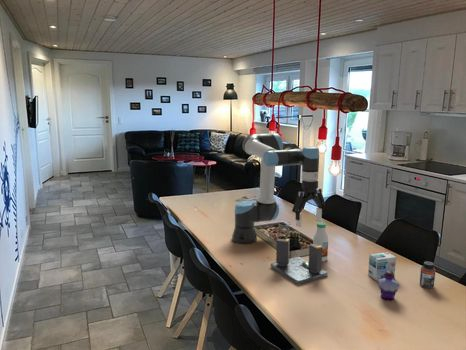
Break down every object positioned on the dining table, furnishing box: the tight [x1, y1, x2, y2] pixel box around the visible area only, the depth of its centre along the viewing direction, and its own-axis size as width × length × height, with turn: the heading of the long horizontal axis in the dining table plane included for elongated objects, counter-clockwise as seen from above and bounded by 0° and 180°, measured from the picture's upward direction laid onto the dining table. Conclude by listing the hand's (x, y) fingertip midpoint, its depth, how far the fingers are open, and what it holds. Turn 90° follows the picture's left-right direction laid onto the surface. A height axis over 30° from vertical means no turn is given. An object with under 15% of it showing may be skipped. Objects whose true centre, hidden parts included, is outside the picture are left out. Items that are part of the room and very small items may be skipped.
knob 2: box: [308, 243, 323, 273], centre depth 187 cm, size 6×5×14 cm
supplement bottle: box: [419, 260, 436, 290], centre depth 176 cm, size 6×6×11 cm
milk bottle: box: [312, 221, 329, 263], centre depth 205 cm, size 8×8×20 cm
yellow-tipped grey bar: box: [275, 238, 291, 267], centre depth 194 cm, size 6×5×14 cm
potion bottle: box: [378, 270, 400, 302], centre depth 166 cm, size 9×9×12 cm
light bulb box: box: [367, 251, 397, 281], centre depth 186 cm, size 11×7×11 cm, turn 105°
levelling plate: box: [270, 256, 328, 286], centre depth 192 cm, size 22×18×4 cm
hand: (308, 223), depth 185 cm, fingers open, 13 cm apart
